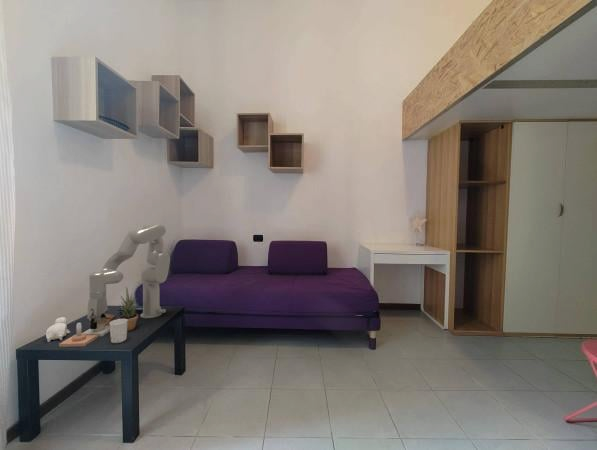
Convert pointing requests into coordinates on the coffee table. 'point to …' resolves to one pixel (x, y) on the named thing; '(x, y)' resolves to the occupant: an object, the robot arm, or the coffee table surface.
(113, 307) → the coffee table surface
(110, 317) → the sunglasses case
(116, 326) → the white cup
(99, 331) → the stand
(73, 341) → the hub post
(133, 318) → the potted plant
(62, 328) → the white figurine
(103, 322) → the birch ring
